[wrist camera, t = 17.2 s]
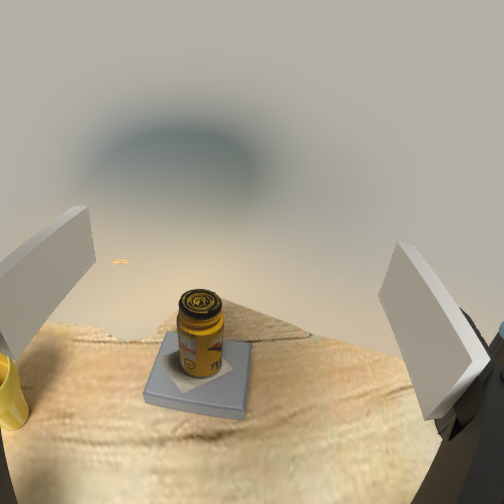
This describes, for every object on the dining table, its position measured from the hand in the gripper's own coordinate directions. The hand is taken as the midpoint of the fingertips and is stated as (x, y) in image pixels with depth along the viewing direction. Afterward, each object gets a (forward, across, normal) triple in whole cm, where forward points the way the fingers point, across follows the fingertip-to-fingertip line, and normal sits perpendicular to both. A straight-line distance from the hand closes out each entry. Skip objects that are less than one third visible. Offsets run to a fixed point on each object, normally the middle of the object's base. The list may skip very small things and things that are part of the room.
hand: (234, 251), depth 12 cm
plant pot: (+1, -32, -32) cm, 45 cm away
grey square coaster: (+17, -5, -32) cm, 37 cm away
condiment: (+17, -6, -29) cm, 34 cm away
